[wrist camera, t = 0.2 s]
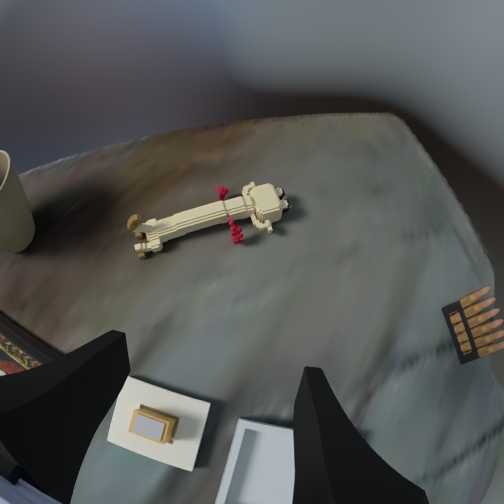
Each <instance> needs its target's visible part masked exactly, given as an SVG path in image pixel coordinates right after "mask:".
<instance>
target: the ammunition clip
mask: <svg viewBox="0 0 504 504" xmlns="http://www.w3.org/2000/svg"><path fill="white" fill-rule="evenodd" d="M490 289H491V287H484V288H482V289H480V290H477V291H475V292H472V293H470V294H468V295H467V296H465V297H463V298H461V299H459V300H458V301H456V302H454V303H452V304H449V305H447V306H445V307H443V308H442V312H443V314H444V317H445V319H446V322H447V325H448V328H449V330H450V333H451V336H452V339H453V342H454V345H455V348H456V351H457V354H458V357H459V360H460V363H461V364H464V363H466V362H469V361H472V360H475V359H478V358H480V357H483V356H486V355H489V354H492V353H494V352H495V351H498V350H500V349H503V348H504V341H501V342H497V343H491V342H492V341H494V340H496V339H498V338H500V337H502V336H504V330H500V331H496V332H493V333H488V334H485V333H487V332H489V331H490V330H492V329H494V328H496V327H498V326H499V325H500V324H502V323H503V320H502V319H498V320H494V321H492V322H489V323H484V322H485V321H486V320H488V319H490V318H492V317H493V316H495V315H496V314H497V313H498V312H499V311H500V309H492V310H489V311H486V312H484V313H480V314H477V313H479V312H480V311H482V310H483V309H485V308H486V307H488V306H490V305H491V304H492V303H493V302H494V301H495V299H496V298H488V299H485V300H483V301H481V302H478V303H475V302H476V301H477V300H478V299H480V298H481V297H483V296H484V295H486V294H487V293H488V292H489V291H490ZM473 303H475V304H473ZM471 304H473V305H471ZM469 305H471V306H469ZM463 308H465V309H463ZM456 312H457V313H456ZM475 314H477V315H475ZM473 315H475V316H473ZM467 318H469V319H467ZM461 321H462V322H461ZM459 322H460V323H459ZM482 323H484V324H482ZM480 324H481V325H480ZM477 325H479V326H477ZM470 328H472V329H470ZM463 331H464V332H463ZM483 334H485V335H483ZM480 335H482V336H480ZM475 337H476V338H475ZM473 338H474V339H473ZM467 340H468V341H467ZM489 343H491V344H489ZM486 344H488V345H486ZM483 345H485V346H483Z"/></svg>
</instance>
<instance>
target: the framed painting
mask: <svg viewBox="0 0 504 504" xmlns="http://www.w3.org/2000/svg"><path fill="white" fill-rule="evenodd" d="M59 357H61V355H59V354H58V353H56V352H55V351H53V350H51V349H50V348H48V347H47V346H45V345H44V344H42V343H40V342H39V341H38V340H36V339H35V338H33V337H32V336H30V335H29V334H27V333H26V332H25V331H23V330H22V329H20V328H19V327H18V326H16V325H15V324H14V323H12V322H11V321H9V320H8V319H7V318H6V317H4V316H3V315H2V314H0V376H2V375H7V374H12V373H16V372H20V371H24V370H28V369H31V368H34V367H37V366H40V365H43V364H45V363H48V362H50V361H53V360H55V359H57V358H59Z"/></svg>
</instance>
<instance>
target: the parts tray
mask: <svg viewBox="0 0 504 504" xmlns="http://www.w3.org/2000/svg"><path fill="white" fill-rule="evenodd" d="M294 478H295V466H294V440H293V428H288V427H283V426H277V425H272V424H267V423H262V422H258V421H253V420H248V419H244V418H240V417H239V419H238V423H237V426H236V430H235V434H234V438H233V441H232V445H231V448H230V452H229V456H228V459H227V463H226V467H225V470H224V474H223V477H222V481H221V484H220V488H219V491H218V495H217V498H216V502H215V504H292V500H293V490H294Z"/></svg>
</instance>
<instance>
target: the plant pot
mask: <svg viewBox="0 0 504 504" xmlns="http://www.w3.org/2000/svg"><path fill="white" fill-rule="evenodd" d="M34 234H35V224H34V220H33V216H32V213H31V209H30V206H29V203H28V200H27V197H26V194H25V192H24V189H23V187H22V184H21V182H20V179H19V177H18V175H17V173H16V170H15V168H14V166H13V164H12V162H11V159H10V157H9V155H8V154H7V153H6V152H5V151H2V150H0V250H3V251H8V252H13V253H18V252H21V251H23V250H24V249H25V248H26V247H28V245H29V244H30V243H31V241H32V239H33V237H34Z"/></svg>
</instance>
